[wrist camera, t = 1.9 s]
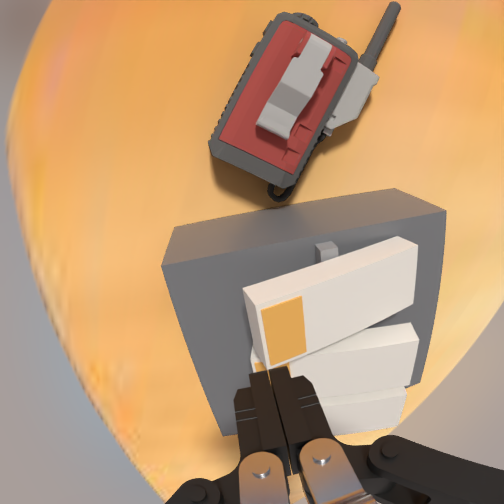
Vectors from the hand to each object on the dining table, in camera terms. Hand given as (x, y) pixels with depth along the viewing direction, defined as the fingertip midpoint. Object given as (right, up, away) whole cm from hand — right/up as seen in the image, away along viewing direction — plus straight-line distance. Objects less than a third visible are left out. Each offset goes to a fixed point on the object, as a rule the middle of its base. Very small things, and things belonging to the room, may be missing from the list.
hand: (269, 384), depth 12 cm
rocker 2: (+5, -6, +10) cm, 13 cm away
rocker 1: (+5, -2, +8) cm, 9 cm away
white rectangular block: (+4, +3, +6) cm, 7 cm away
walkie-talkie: (+3, +19, +9) cm, 21 cm away
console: (+4, +1, +15) cm, 16 cm away
